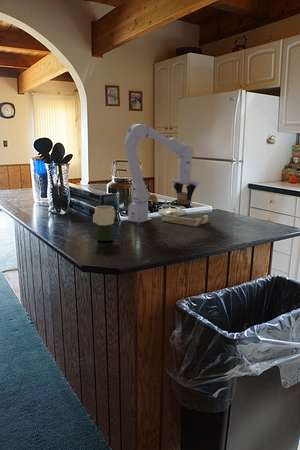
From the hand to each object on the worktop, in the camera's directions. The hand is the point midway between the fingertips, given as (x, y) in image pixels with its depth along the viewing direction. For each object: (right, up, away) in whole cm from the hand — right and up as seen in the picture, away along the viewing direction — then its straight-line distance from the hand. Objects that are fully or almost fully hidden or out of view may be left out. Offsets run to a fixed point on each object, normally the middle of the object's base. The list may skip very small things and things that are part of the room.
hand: (184, 199), depth 184 cm
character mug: (-34, -19, -39) cm, 55 cm away
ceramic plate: (-5, -7, +11) cm, 14 cm away
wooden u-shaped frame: (0, -11, -7) cm, 13 cm away
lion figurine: (-18, -2, +29) cm, 35 cm away
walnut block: (0, -2, 0) cm, 2 cm away
